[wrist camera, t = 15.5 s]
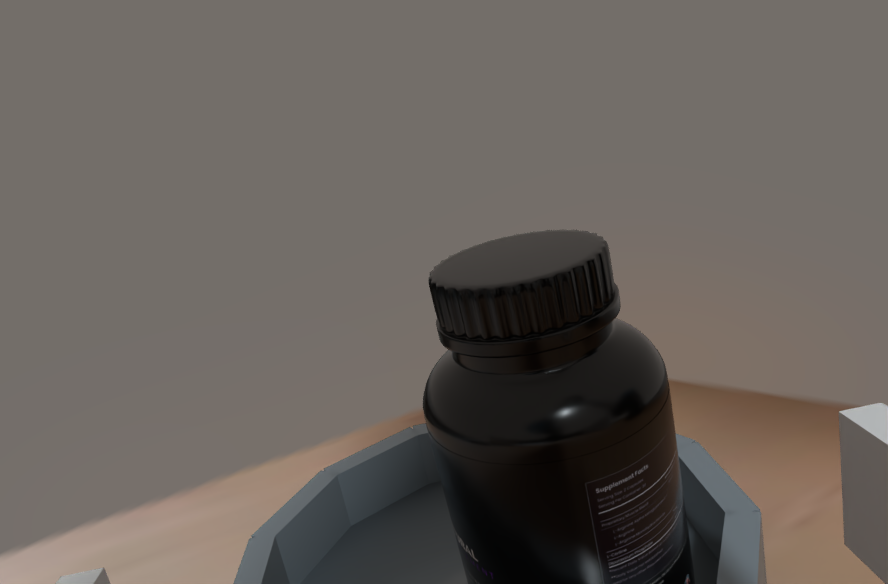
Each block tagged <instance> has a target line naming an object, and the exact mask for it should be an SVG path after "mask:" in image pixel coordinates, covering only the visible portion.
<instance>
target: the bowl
mask: <svg viewBox="0 0 888 584" xmlns="http://www.w3.org/2000/svg"><path fill="white" fill-rule="evenodd" d="M676 441H677V448H678V456H679V463H680V471H681V479H682V486H683V494H684V501H685V509H686V516H687V524H688V531H689V539H690V546H691V554H692V561H693V569H694V579H695V584H767V579H766V567H765V555H764V542H763V530H762V518H761V512H760V509H759V508H758V507H757V506H756V505H755V504H754V503H753V501H752V500H751V499H750V498H749V497H748V496H747V495H746V494H745V493H744V492H743V491H742V489H741V488H740V487H739V486H738V485H737V484H736V483H735V482H734V481H733V480H732V479H731V477H730V476H729V475H728V474H727V473H726V472H725V471H724V470H723V469H722V468H721V467H720V466H719V464H718V463H717V462H716V461H715V460H714V459H713V458H712V457H711V456H710V455H709V454H708V452H707V451H706V450H705V449H704V448H703V447H702V446H701V445H700V444H699V443H698V442H695V440H693V439H690V438H687V437H684V436H681V435H679V434H676ZM251 537H252V538H250V539H249V541H248V544H247V547H246V550H245V552H244V555H243V558H242V561H241V564H240V567H239V569H238V572H237V575H236V578H235V581H234V584H468V582H467V578H466V575H465V571H464V567H463V563H462V559H461V556H460V552H459V548H458V544H457V541H456V537H455V533H454V529H453V525H452V522H451V518H450V514H449V510H448V506H447V503H446V499H445V495H444V491H443V487H442V484H441V480H440V476H439V472H438V469H437V465H436V461H435V457H434V453H433V450H432V446H431V442H430V438H429V434H428V430H427V426H426V423H424V424H420V425H415V426H413V429H412V428H411V427H409V428H407V429H405V430H403V431H400V432H398V433H396V434H394V435H392V436H390V437H388V438H386V439H384V440H382V441H380V442H378V443H376V444H374V445H372V446H370V447H367V448H365V449H363V450H361V451H359V452H357V453H355V454H353V455H351V456H349V457H347V458H345V459H343V460H341V461H339V462H337V463H334V464H332V465H330V466H328V467H326V468H324V471H320V472H319V473H318V474H317V475H316V476H315V477H313V478H312V479H311V480H310V481H309V482H308V483H307V484H306V485H305V486H304V487H303V488H302V489H301V490H300V491H299V492H297V493H296V494H295V495H294V496H293V497H292V498H291V499H290V500H289V501H288V502H287V503H286V504H285V505H284V506H283V507H281V508H280V509H279V510H278V511H277V512H276V513H275V514H274V515H273V516H272V517H271V518H270V519H269V520H268V521H267V522H266V523H264V524H263V525H262V526H261V527H260V528H259V529H258V530H257V531H256V532H255V533H254V534H253V535H252V536H251Z"/></svg>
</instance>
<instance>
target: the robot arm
mask: <svg viewBox="0 0 888 584" xmlns="http://www.w3.org/2000/svg"><path fill="white" fill-rule="evenodd" d="M839 429H840V452H841V475H842V498H843V521H844V544H845V545H846V546H847V547H848V548H849V549H850V550H851V551H852V552H853V553H854V554H855V555H856V556H857V557H858V558H859V559H860V560H861V561H862V562H864V563H865V564H866V565H867V566H868V567H869V568H870V569H871V570H872V571H873V572H874V573H875V574H876V575H877V576H878V577H879V578H880V579H881V580H882V581H883V582H884V583H885V584H888V406H886V405H884V404H883V403H876V404H872V405H867V406H862V407H858V408H853V409H848V410H844V411H839ZM56 584H110V581H109V579H108V576H107V574H106V571H105V569H104V568H99V569H94V570H90V571H85V572H80V573H76V574H71V575H66V576H61V577H60V578H59V580H58V581H57V582H56Z"/></svg>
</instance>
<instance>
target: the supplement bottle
mask: <svg viewBox="0 0 888 584" xmlns="http://www.w3.org/2000/svg"><path fill="white" fill-rule="evenodd" d="M429 287H430V291H431V295H432V299H433V304H434V308H435V312H436V315H437V321H436V325H437V330H438V334H439V338H440V341H441V343H442V344H443V346H444V347H446V348H447V349H448V351H447V352H446V353H445V354H444V355H443V356H442V357H441V358H440V359H439V361H438V362H437V363H436V365H435V366H434V368H433V370H432V371H431V373H430V376H429V378H428V380H427V383H426V387H425V391H424V396H423V410H424V416H425V421H426V426H427V430H428V434H429V438H430V442H431V446H432V450H433V453H434V457H435V461H436V465H437V469H438V472H439V476H440V480H441V484H442V487H443V491H444V495H445V499H446V503H447V506H448V510H449V514H450V518H451V522H452V525H453V529H454V533H455V537H456V541H457V544H458V548H459V552H460V556H461V559H462V563H463V567H464V571H465V575H466V578H467V582H468V584H695V579H694V569H693V561H692V554H691V546H690V539H689V531H688V524H687V516H686V509H685V501H684V494H683V486H682V479H681V471H680V463H679V456H678V448H677V441H676V433H675V426H674V418H673V411H672V403H671V396H670V389H669V383H668V378H667V372H666V368H665V364H664V361H663V359H662V357H661V355H660V353H659V352H658V350H657V349H656V348H655V346H654V345H653V344H652V342H651V341H649V339H648V338H647V337H646V336H645V335H644V334H642V333H641V332H640V331H639V330H637V329H636V328H634V327H633V326H631V325H629V324H628V323H626V322H624V321H621V320H619V319H616V316H617V315H618V313H619V311H620V296H619V290H618V287H617V285H616V284H615V283H614V279H613V273H612V266H611V259H610V253H609V248H608V244H607V242H606V241H605V240H604V239H603V237H601V236H597V234H596V233H590V232H588V231H579V230H547V231H540V232H530V233H525V234H517V235H513V236H508V237H503V238H500V239H496V240H492V241H488V242H485V243H482V244H479V245H475V246H473V247H470V248H468V249H465V250H462V251H460V252H458V253H456V254H454V255H451V256H449V257H448V258H447V259H445V260H443V261H441V262H440V264H438V265H437V266H435V267H434V269H433V270H432V271H431V272H430V277H429Z"/></svg>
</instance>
